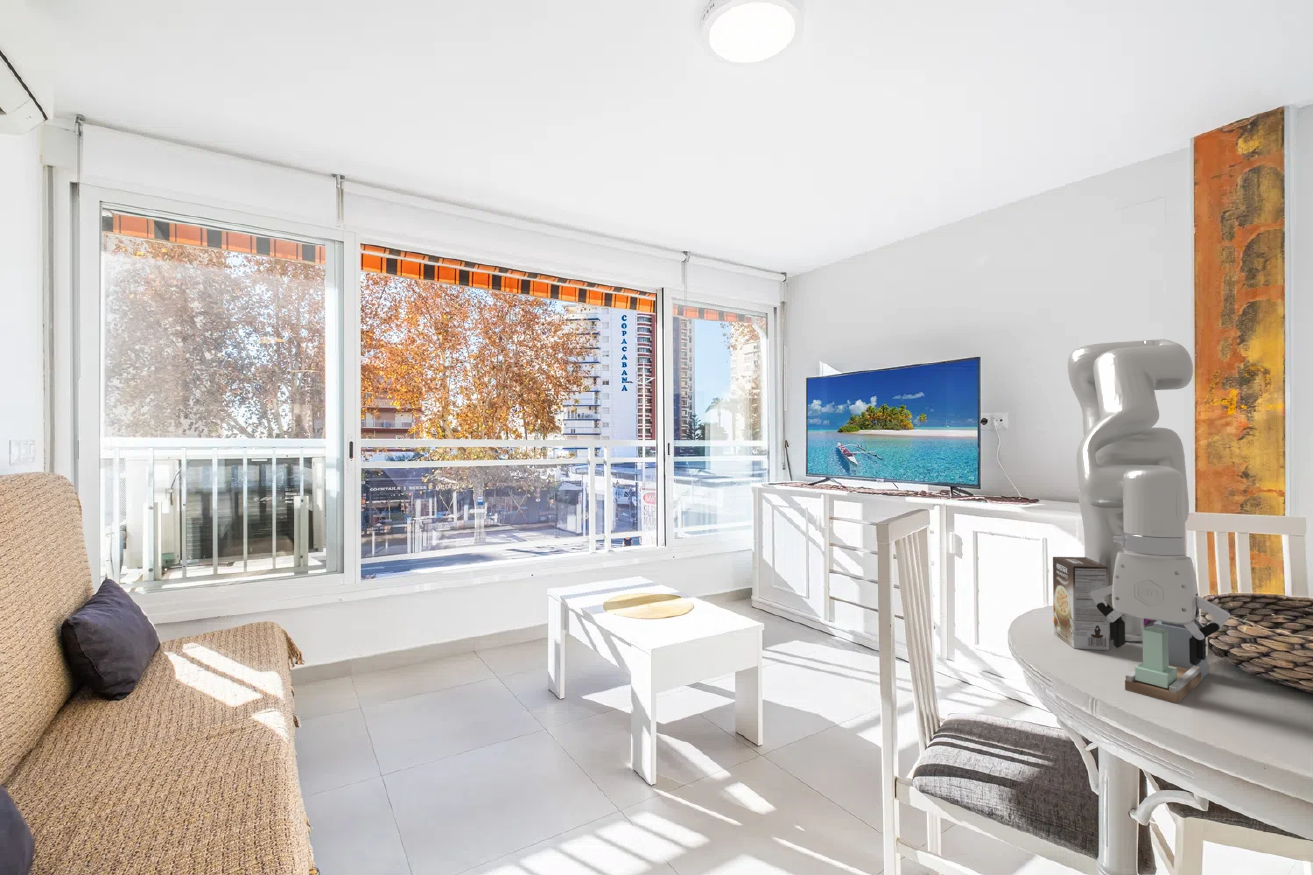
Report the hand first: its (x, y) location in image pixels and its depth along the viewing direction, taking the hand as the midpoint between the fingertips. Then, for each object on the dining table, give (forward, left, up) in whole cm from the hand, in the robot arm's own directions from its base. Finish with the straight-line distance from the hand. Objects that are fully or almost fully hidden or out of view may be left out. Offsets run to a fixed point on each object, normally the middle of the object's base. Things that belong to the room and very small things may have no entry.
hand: (1155, 653), depth 94 cm
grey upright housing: (-14, 0, -6) cm, 15 cm away
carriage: (0, 0, -4) cm, 4 cm away
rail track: (-4, 0, -6) cm, 7 cm away
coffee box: (-17, -16, -6) cm, 24 cm away
